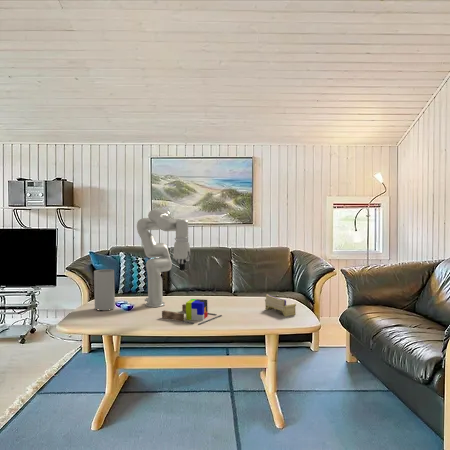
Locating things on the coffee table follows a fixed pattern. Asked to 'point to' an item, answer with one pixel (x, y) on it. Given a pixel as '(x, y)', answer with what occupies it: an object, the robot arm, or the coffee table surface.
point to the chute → (174, 314)
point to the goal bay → (204, 321)
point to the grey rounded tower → (104, 289)
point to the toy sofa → (279, 305)
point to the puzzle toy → (196, 309)
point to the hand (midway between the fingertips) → (182, 270)
